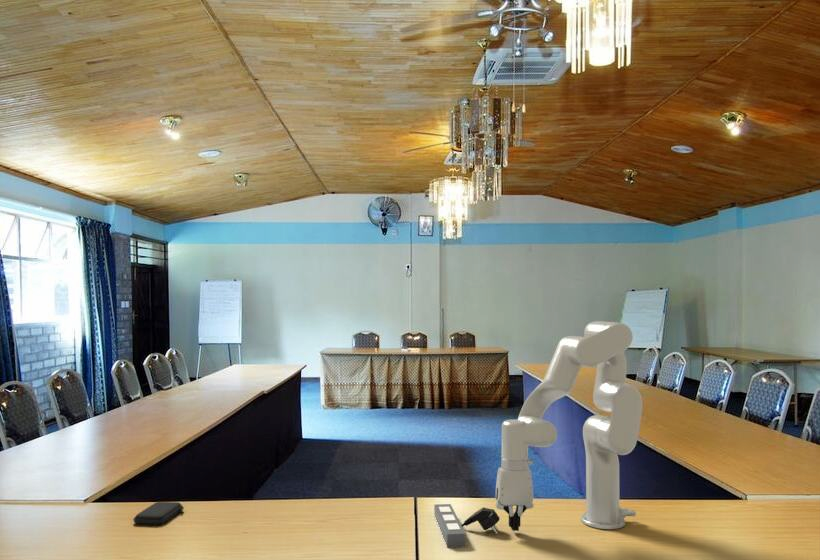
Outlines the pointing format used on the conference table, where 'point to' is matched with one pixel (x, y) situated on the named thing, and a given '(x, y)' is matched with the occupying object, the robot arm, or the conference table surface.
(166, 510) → the carrying case or bag
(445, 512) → the power strip
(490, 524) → the power plug
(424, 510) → the conference table surface
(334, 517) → the conference table surface
